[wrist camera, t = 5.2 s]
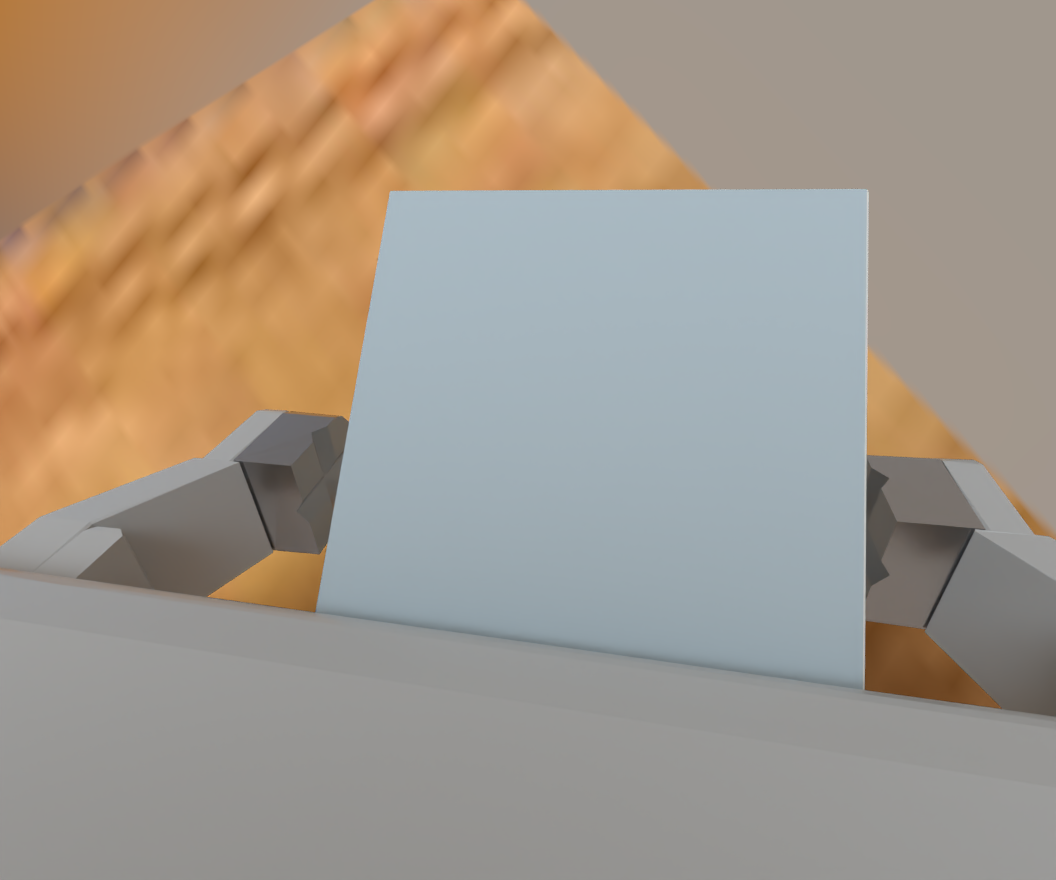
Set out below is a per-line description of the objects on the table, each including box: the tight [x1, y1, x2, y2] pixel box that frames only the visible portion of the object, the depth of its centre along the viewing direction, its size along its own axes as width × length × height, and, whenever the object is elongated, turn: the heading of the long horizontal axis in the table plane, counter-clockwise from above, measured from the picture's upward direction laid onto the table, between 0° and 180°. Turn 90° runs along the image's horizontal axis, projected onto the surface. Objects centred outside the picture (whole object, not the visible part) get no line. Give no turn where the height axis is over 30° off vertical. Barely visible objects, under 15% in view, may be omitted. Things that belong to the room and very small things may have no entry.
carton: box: [316, 189, 869, 690], centre depth 11 cm, size 5×5×10 cm
